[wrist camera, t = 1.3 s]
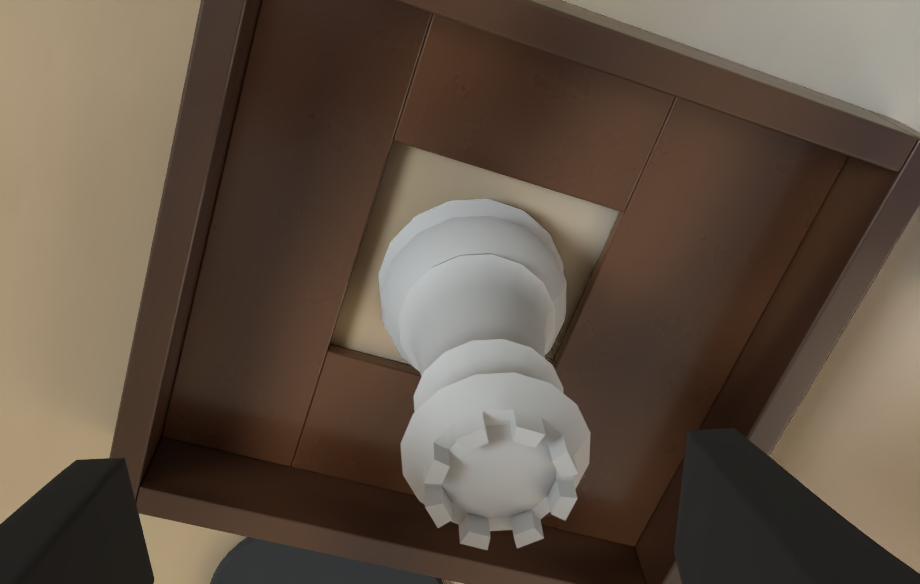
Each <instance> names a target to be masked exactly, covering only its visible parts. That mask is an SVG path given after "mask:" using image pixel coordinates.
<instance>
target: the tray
mask: <svg viewBox="0 0 920 584" xmlns="http://www.w3.org/2000/svg"><path fill="white" fill-rule="evenodd" d="M393 139H394V140H395V141H397V142H400V143H403V144H406V145H410V146H413V147H416V148H419V149H422V150H426V151H429V152H432V153H435V154H438V155H442V156H445V157H448V158H451V159H455V160H458V161H461V162H464V163H467V164H471V165H474V166H477V167H480V168H483V169H487V170H490V171H493V172H496V173H499V174H503V175H506V176H509V177H512V178H516V179H519V180H522V181H525V182H528V183H532V184H535V185H538V186H541V187H544V188H548V189H551V190H554V191H557V192H560V193H564V194H567V195H570V196H573V197H576V198H580V199H583V200H586V201H589V202H593V203H596V204H599V205H602V206H605V207H609V208H612V209H615V210H618V211H620V212H619V214H618V216H617V218H616V221H615V223H614V225H613V228H612V230H611V232H610V234H609V237H608V239H607V241H606V243H605V246H604V248H603V250H602V252H601V255H600V257H599V259H598V261H597V264H596V266H595V268H594V270H593V273H592V275H591V277H590V279H589V282H588V284H587V286H586V289H585V291H584V293H583V295H582V298H581V300H580V302H579V304H578V307H577V309H576V311H575V313H574V316H573V318H572V320H571V322H570V325H569V327H568V329H567V331H566V334H565V336H564V338H563V340H562V343H561V345H560V347H559V349H558V352H557V354H556V356H555V359H554V361H553V363H552V365H553V367H554V369H555V371H556V373H557V375H558V378H559V380H560V382H561V384H562V386H563V394H565V395H566V396H567V397H568V398H569V399H571V400H572V401H573V402H574V403H576V404H577V405H578V408H579V410H580V412H581V414H582V416H583V418H584V420H585V422H586V425H587V427H588V429H589V431H590V433H591V434H590V457H589V465H588V467H587V469H586V471H585V472H584V474H583V476H582V478H581V480H580V482H579V484H578V485H577V487H576V489H575V490H576V494H577V498H578V499H577V500H576V502H575V504H574V506H573V508H572V510H571V511H570V513H569V515H568V517H567V519H566V521H565V520H563V519H560V518H558V517H556V516H554V515H552V514H551V512H549V513H548V514H547V515H545V516H544V517H543V518H542V519H541V525H542V530H543V535H544V539H541V540H538V541H536V542H533V543H530V544H528V545H525V546H523V547H520V548H517V547H516V544H515V540H514V536H513V530H501V531H490V542H489V546H488V550H484V549H480V548H476V547H472V546H468V545H464V544H460V538H459V525H458V524H456V523H454V522H451V521H450V522H448V523H446V524H445V525H443V526H441V527H440V528H437V526H436V524H435V523H434V521H433V519H432V518H431V516H430V514H429V513H428V511H427V510H426V508H425V505H424V504H423V503H421V502H420V501H419V500H418V498H417V497H416V495H415V494H414V492H413V490H412V489H411V487H410V485H409V484H408V482H407V480H406V479H405V477H404V476H403V471H402V457H401V441H402V439H403V437H404V434H405V432H406V430H407V427H408V425H409V422H410V420H411V418H412V415H413V413H415V411H414V394H415V391H416V389H417V387H418V384H419V382H420V379H421V377H422V376H421V373H420V372H419V371H418V370H417V369H415V368H414V367H413V366H410V365H406V364H402V363H398V362H394V361H391V360H387V359H383V358H379V357H375V356H372V355H368V354H364V353H360V352H356V351H352V350H349V349H345V348H341V347H337V346H333V345H329V344H330V341H331V338H332V335H333V331H334V328H335V325H336V322H337V319H338V315H339V312H340V309H341V306H342V302H343V299H344V296H345V293H346V290H347V286H348V283H349V280H350V277H351V274H352V270H353V267H354V264H355V261H356V258H357V254H358V251H359V248H360V245H361V242H362V238H363V235H364V232H365V229H366V226H367V222H368V219H369V216H370V213H371V210H372V206H373V203H374V200H375V197H376V194H377V190H378V187H379V184H380V181H381V178H382V174H383V171H384V168H385V165H386V162H387V158H388V155H389V152H390V149H391V146H392V142H393ZM919 204H920V133H919V132H917V131H915V130H913V129H911V128H910V127H908V126H906V125H904V124H902V123H900V122H898V121H896V120H894V119H892V118H889V117H886V116H884V115H881V114H878V113H875V112H872V111H867V110H866V109H864V108H861V107H858V106H855V105H853V104H850V103H847V102H844V101H841V100H839V99H836V98H833V97H830V96H827V95H825V94H822V93H819V92H816V91H813V90H811V89H808V88H805V87H802V86H799V85H797V84H794V83H791V82H788V81H785V80H782V79H780V78H777V77H774V76H771V75H768V74H766V73H763V72H760V71H757V70H754V69H752V68H749V67H746V66H743V65H740V64H738V63H735V62H732V61H729V60H726V59H724V58H721V57H718V56H715V55H712V54H709V53H707V52H704V51H701V50H698V49H695V48H693V47H690V46H687V45H684V44H681V43H679V42H676V41H673V40H670V39H667V38H665V37H662V36H659V35H656V34H653V33H651V32H648V31H645V30H642V29H639V28H636V27H634V26H631V25H628V24H625V23H622V22H620V21H617V20H614V19H611V18H608V17H606V16H603V15H600V14H597V13H594V12H592V11H589V10H586V9H583V8H580V7H578V6H575V5H572V4H569V3H566V2H563V1H561V0H201V4H200V9H199V14H198V19H197V24H196V29H195V34H194V39H193V44H192V49H191V54H190V59H189V64H188V69H187V74H186V79H185V84H184V89H183V94H182V99H181V104H180V109H179V114H178V119H177V124H176V129H175V134H174V139H173V144H172V149H171V154H170V159H169V164H168V169H167V174H166V178H165V183H164V188H163V193H162V198H161V203H160V208H159V213H158V218H157V223H156V228H155V233H154V238H153V243H152V248H151V253H150V258H149V263H148V268H147V273H146V278H145V283H144V288H143V293H142V298H141V303H140V308H139V313H138V318H137V323H136V328H135V333H134V338H133V343H132V348H131V353H130V358H129V363H128V368H127V373H126V378H125V383H124V388H123V393H122V398H121V403H120V408H119V413H118V418H117V423H116V428H115V433H114V437H113V442H112V447H111V452H110V457H109V458H125V460H126V464H127V469H128V473H129V477H130V481H131V485H132V489H133V493H134V497H135V502H136V506H137V510H138V513H140V514H145V515H149V516H154V517H159V518H163V519H168V520H173V521H177V522H182V523H186V524H191V525H196V526H200V527H205V528H210V529H214V530H219V531H223V532H228V533H233V534H237V535H242V536H247V537H251V538H256V539H261V540H265V541H270V542H274V543H279V544H284V545H288V546H293V547H298V548H302V549H307V550H311V551H316V552H321V553H325V554H330V555H335V556H339V557H344V558H348V559H353V560H358V561H362V562H367V563H372V564H376V565H381V566H386V567H390V568H395V569H399V570H404V571H409V572H413V573H418V574H423V575H427V576H432V577H436V578H441V579H446V580H450V581H455V582H460V583H464V584H682V581H681V578H680V574H679V570H678V566H677V562H676V558H675V554H674V545H675V537H676V528H677V519H678V510H679V501H680V492H681V484H682V475H683V466H684V457H685V448H686V439H687V431H688V430H707V429H727V428H735V429H736V430H737V431H739V432H740V433H741V434H742V435H744V436H745V437H746V438H747V439H749V440H750V441H751V442H752V443H754V444H755V445H756V446H757V447H758V448H760V449H761V450H762V451H763V452H764V453H766V454H767V455H768V456H769V455H770V453H771V452H772V450H773V448H774V447H775V445H776V443H777V442H778V440H779V438H780V436H781V435H782V433H783V431H784V430H785V428H786V426H787V425H788V423H789V421H790V420H791V418H792V416H793V415H794V413H795V411H796V410H797V408H798V406H799V405H800V403H801V401H802V400H803V398H804V396H805V395H806V393H807V391H808V390H809V388H810V386H811V385H812V383H813V381H814V380H815V378H816V376H817V375H818V373H819V371H820V370H821V368H822V366H823V365H824V363H825V361H826V360H827V358H828V356H829V355H830V353H831V351H832V350H833V348H834V346H835V345H836V343H837V341H838V339H839V338H840V336H841V334H842V333H843V331H844V329H845V328H846V326H847V324H848V323H849V321H850V319H851V318H852V316H853V314H854V313H855V311H856V309H857V308H858V306H859V304H860V303H861V301H862V299H863V298H864V296H865V294H866V293H867V291H868V289H869V288H870V286H871V284H872V283H873V281H874V279H875V278H876V276H877V274H878V273H879V271H880V269H881V268H882V266H883V264H884V263H885V261H886V259H887V258H888V256H889V254H890V253H891V251H892V249H893V248H894V246H895V244H896V243H897V241H898V239H899V237H900V236H901V234H902V232H903V231H904V229H905V227H906V226H907V224H908V222H909V221H910V219H911V217H912V216H913V214H914V212H915V211H916V209H917V207H918V206H919Z"/></svg>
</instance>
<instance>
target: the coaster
mask: <svg viewBox="0 0 920 584" xmlns="http://www.w3.org/2000/svg"><path fill="white" fill-rule="evenodd" d="M210 584H442V581H441V578H436V577H432V576H427V575H423V574H418V573H413V572H409V571H404V570H399V569H395V568H390V567H386V566H381V565H376V564H372V563H367V562H362V561H358V560H353V559H348V558H344V557H339V556H335V555H330V554H325V553H321V552H316V551H311V550H307V549H302V548H298V547H293V546H288V545H284V544H279V543H274V542H270V541H265V540H261V539H256V538H251V537H247V538H246V539H244V540H243V541H242V542H240V543H239V544H238V545H237V546H236V547H234V548H233V549H232V550H231V551H230V552H229V553H228V554H227V555H226V557H225V558H224V559H223V560H222V561H221V563H220V564H219V566H218V568H217V569H216V571H215V573H214V575H213V578H212V580H211V583H210Z"/></svg>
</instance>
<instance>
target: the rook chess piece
mask: <svg viewBox="0 0 920 584" xmlns="http://www.w3.org/2000/svg"><path fill="white" fill-rule="evenodd" d="M563 269H564V265H563V262H562V260H561V258H560V256H559V253H558V251H557V249H556V247H555V244H554V242H553V240H552V237H551V235H550V234H549V233H548V232H547V231H546V230H545V229H544V228H543V227H541V226H540V225H539V224H538V223H537V222H536V221H535V220H534V219H532V218H531V217H530V216H529V215H528V214H527V213H526V212H525V211H523V210H520V209H517V208H514V207H511V206H509V205H506V204H503V203H500V202H497V201H494V200H491V199H470V200H450V201H448V202H446V203H443V204H441V205H439V206H437V207H434V208H432V209H430V210H428V211H425V212H423V213H421V214H419V215H416V216H415V217H414V218H413V219H412V220H411V221H410V222H409V223H408V224H407V225H406V226H405V227H404V228H403V229H402V230H401V231H400V233H399V234H398V235H397V236H396V237H395V238H394V239H393V240H392V241H391V242H390V244H389V247H388V250H387V252H386V255H385V258H384V260H383V263H382V266H381V269H380V271H379V274H378V276H379V288H380V300H381V308H382V319H383V325H384V327H385V329H386V330H387V332H388V334H389V336H390V337H391V339H392V341H393V343H394V344H395V346H396V348H397V350H398V351H399V353H400V355H401V357H402V358H403V359H404V360H405V361H407V362H408V363H409V364H410V365H412V366H413V367H414V368H415V369H417V370H418V371H419V372H420V373H421V376H422V377H421V379H420V382H419V384H418V387H417V389H416V391H415V394H414V411H415V413H413V415H412V418H411V420H410V422H409V425H408V427H407V430H406V432H405V434H404V437H403V439H402V441H401V457H402V471H403V476H404V477H405V479H406V480H407V482H408V484H409V485H410V487H411V489H412V490H413V492H414V494H415V495H416V497H417V498H418V500H419V501H420V502H421V503H423V504H424V505H425V508H426V510H427V511H428V513H429V514H430V516H431V518H432V519H433V521H434V523H435V524H436V526H437V528H440V527H441V526H443V525H445V524H446V523H448V522H450V521H451V522H454V523H456V524H458V525H459V538H460V544H464V545H468V546H472V547H476V548H480V549H484V550H488V546H489V542H490V531H501V530H513V536H514V540H515V544H516V547H517V548H520V547H523V546H525V545H528V544H530V543H533V542H536V541H538V540H541V539H544V535H543V530H542V525H541V519H542V518H543V517H544V516H545V515H547V514H548V513H549V512H551V514H552V515H554V516H556V517H558V518H560V519H563V520H565V521H566V519H567V517H568V515H569V513H570V511H571V510H572V508H573V506H574V504H575V502H576V500H577V499H578V498H577V494H576V490H575V489H576V487H577V485H578V484H579V482H580V480H581V478H582V476H583V474H584V472H585V471H586V469H587V467H588V465H589V457H590V434H591V433H590V431H589V429H588V427H587V425H586V422H585V420H584V418H583V416H582V414H581V412H580V410H579V408H578V405H577V404H576V403H574V402H573V401H572V400H571V399H569V398H568V397H567V396H566V395H565V394H563V386H562V384H561V382H560V380H559V378H558V375H557V373H556V371H555V369H554V367H553V365H552V364H551V363H550V362H548V361H547V360H546V359H545V355H546V354H547V353H548V352H549V351H550V350H551V348H552V346H553V344H554V341H555V339H556V337H557V335H558V333H559V331H560V329H561V327H562V325H563V323H564V320H565V316H566V288H567V281H566V279H565V277H564V274H563Z"/></svg>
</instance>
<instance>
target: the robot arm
mask: <svg viewBox="0 0 920 584" xmlns="http://www.w3.org/2000/svg"><path fill="white" fill-rule="evenodd" d="M674 554H675V558H676V562H677V566H678V570H679V574H680V578H681V581H682V584H920V574H919V573H918V572H916V571H915V570H913V569H912V568H911V567H909V566H908V565H906V564H905V563H903V562H902V561H901V560H899V559H898V558H896V557H895V556H894V555H892V554H891V553H889V552H888V551H887V550H885V549H884V548H883V547H881V546H880V545H879V544H877V543H876V542H875V541H873V540H872V539H871V538H869V537H868V536H867V535H865V534H864V533H863V532H862V531H860V530H859V529H858V528H856V527H855V526H854V525H852V524H851V523H850V522H849V521H847V520H846V519H845V518H844V517H842V516H841V515H840V514H838V513H837V512H836V511H835V510H833V509H832V508H831V507H830V506H828V505H827V504H826V503H825V502H823V501H822V500H821V499H820V498H819V497H817V496H816V495H815V494H814V493H812V492H811V491H810V490H809V489H808V488H806V487H805V486H804V485H803V484H802V483H800V482H799V481H798V480H797V479H795V478H794V477H793V476H792V475H791V474H789V473H788V472H787V471H786V470H785V469H783V468H782V467H781V466H780V465H779V464H777V463H776V462H775V461H774V460H773V459H772V458H770V457H769V456H768V455H767V454H766V453H764V452H763V451H762V450H761V449H760V448H758V447H757V446H756V445H755V444H754V443H752V442H751V441H750V440H749V439H747V438H746V437H745V436H744V435H742V434H741V433H740V432H739V431H737V430H736V429H735V428H727V429H707V430H688V431H687V439H686V448H685V457H684V466H683V475H682V484H681V492H680V501H679V510H678V519H677V528H676V537H675V545H674ZM153 583H154V576H153V572H152V568H151V564H150V559H149V555H148V551H147V547H146V543H145V539H144V535H143V530H142V526H141V522H140V518H139V514H138V510H137V506H136V502H135V497H134V493H133V489H132V485H131V481H130V477H129V473H128V469H127V464H126V460H125V458H109V459H88V460H76V461H75V462H73V463H72V464H71V465H70V466H68V467H67V468H66V469H64V470H63V471H62V472H61V473H60V474H58V475H57V476H56V477H55V478H54V479H52V480H51V481H50V482H49V483H48V484H46V485H45V486H44V487H43V488H42V489H41V490H39V491H38V492H37V493H36V494H35V495H34V496H32V497H31V498H30V499H29V500H28V501H27V502H26V503H24V504H23V505H22V506H21V507H20V508H19V509H18V510H16V511H15V512H14V513H13V514H12V515H11V516H9V517H8V518H7V519H6V520H5V521H4V522H3V523H1V524H0V584H153Z"/></svg>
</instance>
